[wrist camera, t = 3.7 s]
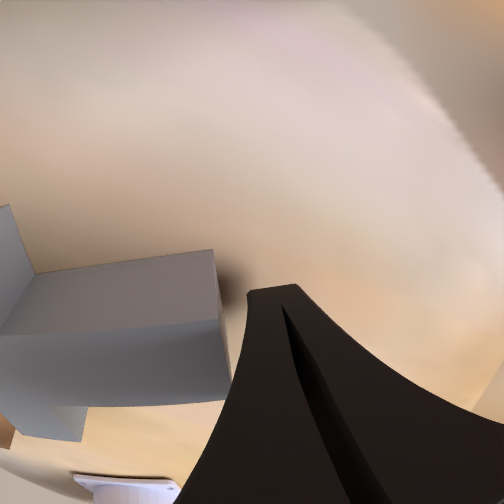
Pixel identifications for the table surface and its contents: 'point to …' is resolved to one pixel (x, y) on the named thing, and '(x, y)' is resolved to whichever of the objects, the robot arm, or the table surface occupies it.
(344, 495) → the robot arm
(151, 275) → the t block
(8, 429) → the walnut bay
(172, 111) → the table surface
